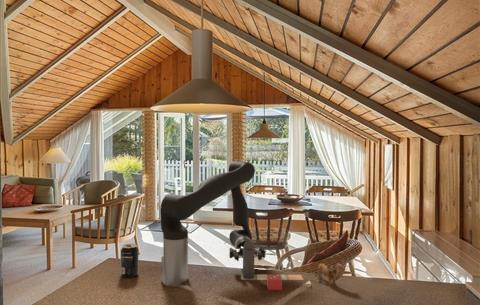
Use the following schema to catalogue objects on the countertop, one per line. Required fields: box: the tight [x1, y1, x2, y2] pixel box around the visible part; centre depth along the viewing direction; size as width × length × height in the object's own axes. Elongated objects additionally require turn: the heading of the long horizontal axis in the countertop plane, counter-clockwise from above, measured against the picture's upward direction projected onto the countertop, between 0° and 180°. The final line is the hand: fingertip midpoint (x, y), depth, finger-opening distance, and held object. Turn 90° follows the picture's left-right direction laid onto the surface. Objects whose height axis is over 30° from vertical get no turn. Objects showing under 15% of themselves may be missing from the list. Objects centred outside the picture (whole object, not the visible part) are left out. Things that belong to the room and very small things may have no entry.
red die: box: [266, 274, 283, 291], centre depth 131 cm, size 5×5×5 cm
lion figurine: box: [314, 262, 346, 289], centre depth 138 cm, size 15×5×9 cm, turn 35°
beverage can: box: [120, 243, 139, 278], centre depth 145 cm, size 7×7×12 cm
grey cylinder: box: [242, 241, 255, 279], centre depth 140 cm, size 4×4×14 cm
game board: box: [240, 273, 312, 288], centre depth 141 cm, size 28×12×1 cm, turn 90°
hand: (248, 258), depth 140 cm, fingers open, 8 cm apart
